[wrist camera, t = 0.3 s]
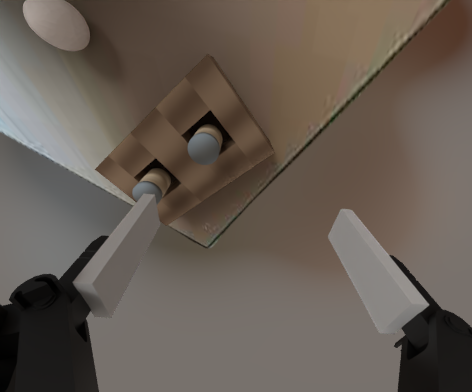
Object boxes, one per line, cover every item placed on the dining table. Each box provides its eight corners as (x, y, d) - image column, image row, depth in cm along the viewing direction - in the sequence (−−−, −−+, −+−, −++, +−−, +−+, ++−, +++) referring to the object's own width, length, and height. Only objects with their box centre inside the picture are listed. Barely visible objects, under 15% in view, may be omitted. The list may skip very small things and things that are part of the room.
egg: (82, 60, 29) (37, 56, 23) (51, 17, 27) (-9, -1, 20) (108, 42, 28) (69, 33, 22) (79, -5, 25) (24, -32, 19)
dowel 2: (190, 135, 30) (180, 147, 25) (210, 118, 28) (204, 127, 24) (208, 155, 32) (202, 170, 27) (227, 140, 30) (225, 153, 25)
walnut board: (114, 156, 38) (94, 169, 33) (213, 57, 29) (207, 54, 24) (174, 208, 44) (166, 225, 39) (269, 141, 35) (274, 152, 30)
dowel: (142, 176, 34) (126, 193, 29) (158, 163, 33) (143, 179, 28) (160, 192, 36) (148, 211, 31) (176, 180, 34) (165, 198, 30)
